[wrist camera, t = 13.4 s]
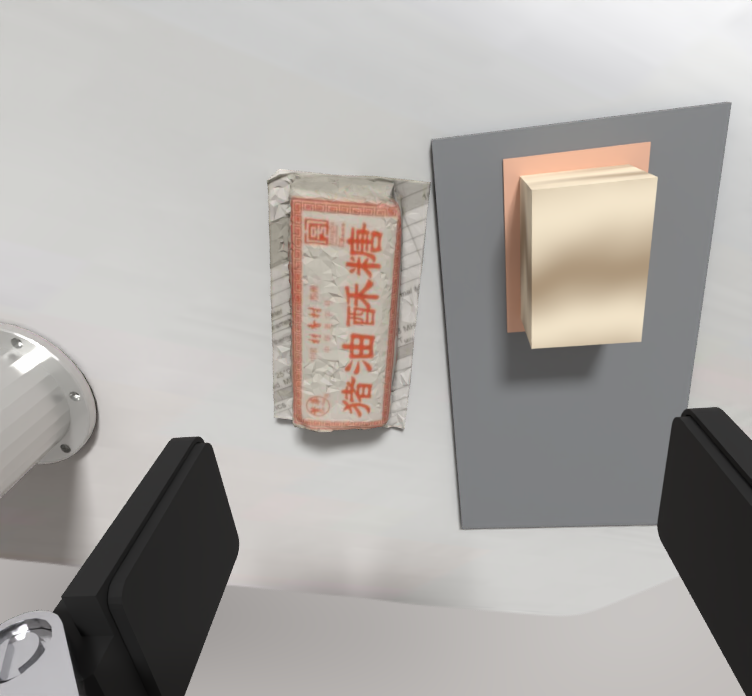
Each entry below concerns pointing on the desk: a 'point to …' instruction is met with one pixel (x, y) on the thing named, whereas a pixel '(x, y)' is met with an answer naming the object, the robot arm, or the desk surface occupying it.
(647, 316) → the mat
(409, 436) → the desk surface
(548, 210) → the birch tile
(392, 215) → the packaged product
